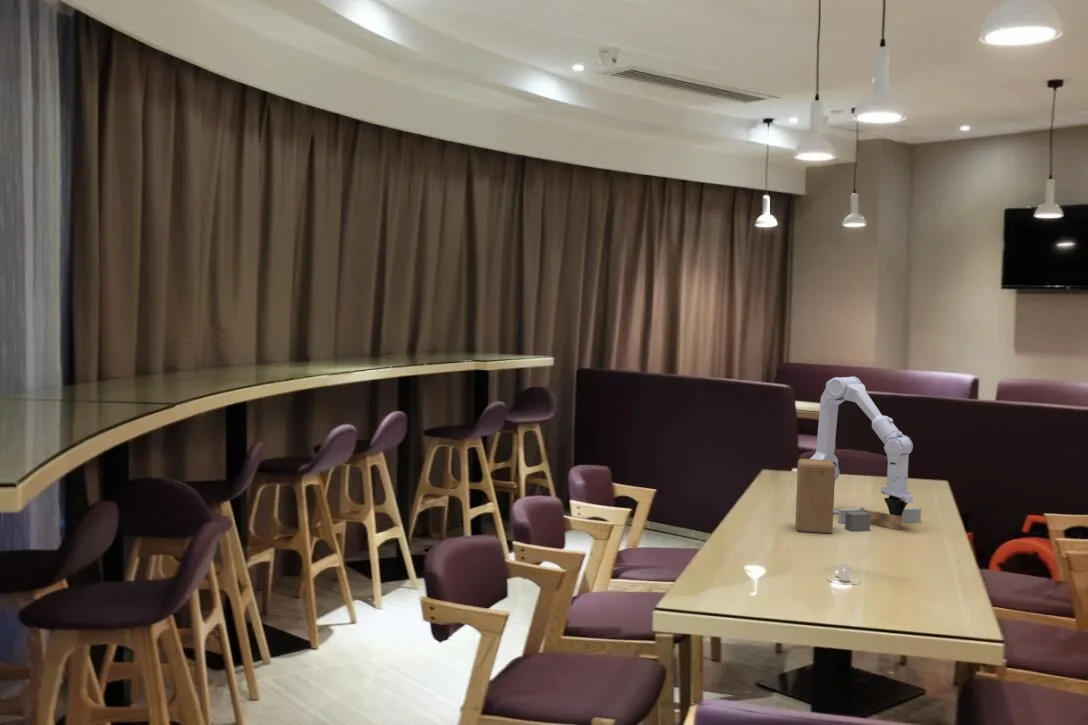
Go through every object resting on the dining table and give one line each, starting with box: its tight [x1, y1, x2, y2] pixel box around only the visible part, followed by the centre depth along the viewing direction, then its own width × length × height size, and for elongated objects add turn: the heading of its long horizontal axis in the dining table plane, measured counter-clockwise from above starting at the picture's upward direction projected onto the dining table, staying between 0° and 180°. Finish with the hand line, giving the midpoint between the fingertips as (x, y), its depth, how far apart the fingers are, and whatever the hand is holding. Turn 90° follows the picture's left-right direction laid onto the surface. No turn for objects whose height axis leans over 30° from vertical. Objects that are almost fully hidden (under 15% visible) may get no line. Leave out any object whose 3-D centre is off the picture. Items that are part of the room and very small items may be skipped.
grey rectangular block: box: [844, 512, 871, 532], centre depth 294 cm, size 6×4×5 cm, turn 105°
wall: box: [837, 507, 922, 525], centre depth 305 cm, size 26×2×4 cm, turn 100°
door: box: [864, 509, 903, 531], centre depth 299 cm, size 12×2×4 cm, turn 44°
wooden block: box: [794, 458, 836, 534], centre depth 292 cm, size 10×10×20 cm
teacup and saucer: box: [834, 563, 852, 582], centre depth 240 cm, size 9×8×4 cm
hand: (895, 522), depth 298 cm, fingers closed
